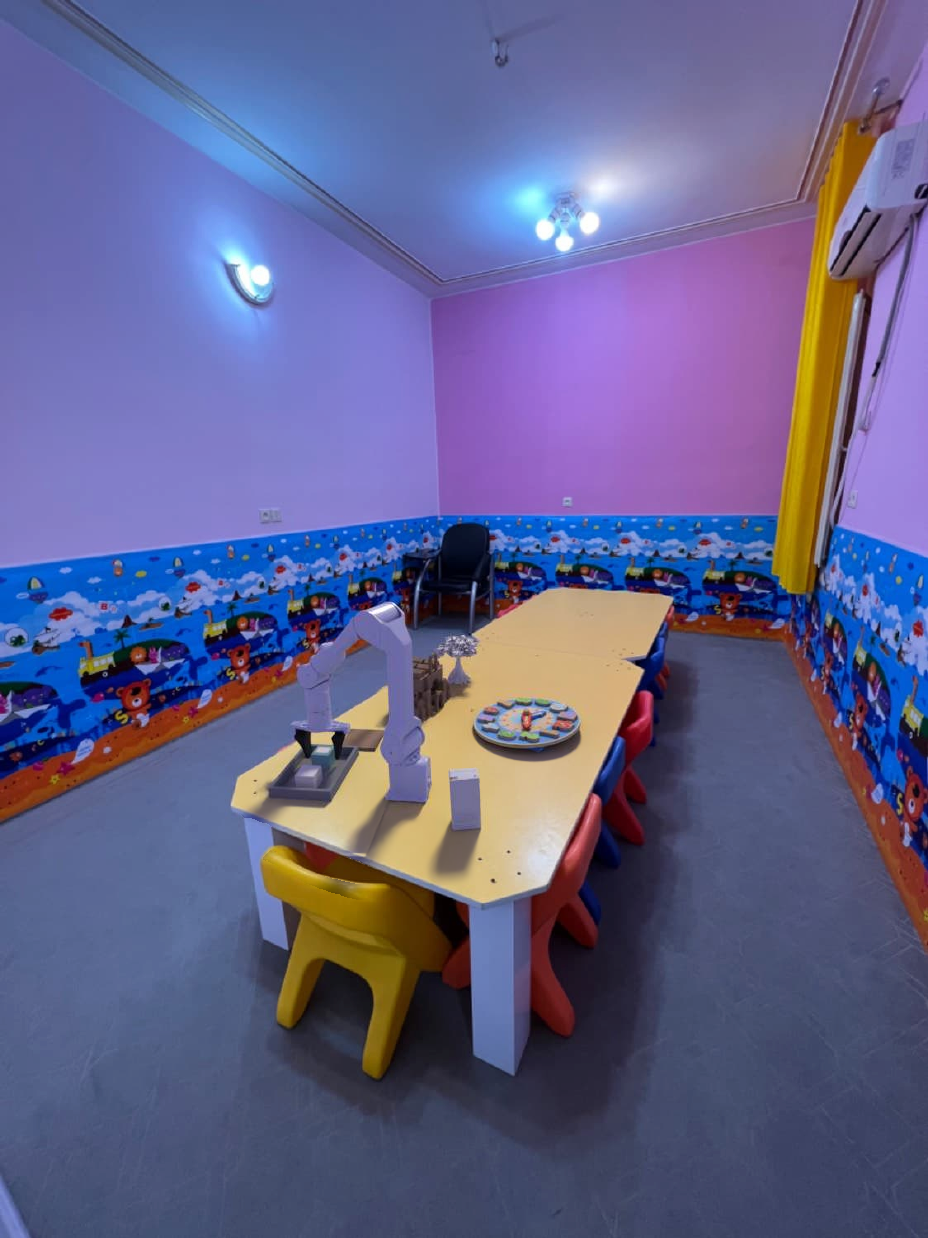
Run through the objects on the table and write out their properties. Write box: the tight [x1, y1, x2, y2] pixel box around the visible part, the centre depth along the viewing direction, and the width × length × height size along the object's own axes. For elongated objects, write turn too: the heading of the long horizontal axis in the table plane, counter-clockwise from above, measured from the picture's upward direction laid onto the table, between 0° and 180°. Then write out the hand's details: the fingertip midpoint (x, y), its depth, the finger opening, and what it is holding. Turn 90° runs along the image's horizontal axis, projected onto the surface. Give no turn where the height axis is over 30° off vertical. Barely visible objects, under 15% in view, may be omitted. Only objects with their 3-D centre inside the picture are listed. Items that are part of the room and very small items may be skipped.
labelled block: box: [311, 745, 336, 770], centre depth 123 cm, size 4×4×4 cm
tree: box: [433, 635, 479, 685], centre depth 174 cm, size 18×16×17 cm
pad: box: [343, 728, 385, 752], centre depth 135 cm, size 10×10×1 cm
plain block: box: [295, 765, 323, 789], centre depth 114 cm, size 4×4×4 cm
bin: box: [267, 743, 360, 802], centre depth 119 cm, size 15×20×3 cm
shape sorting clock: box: [473, 697, 582, 753], centre depth 140 cm, size 31×30×6 cm
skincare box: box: [448, 767, 482, 831], centre depth 100 cm, size 6×4×12 cm
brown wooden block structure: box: [413, 652, 451, 721], centre depth 154 cm, size 22×15×19 cm, turn 155°
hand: (323, 757), depth 123 cm, fingers open, 7 cm apart
